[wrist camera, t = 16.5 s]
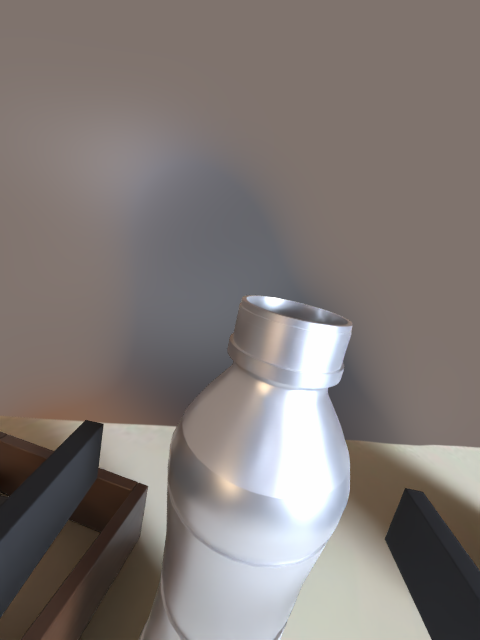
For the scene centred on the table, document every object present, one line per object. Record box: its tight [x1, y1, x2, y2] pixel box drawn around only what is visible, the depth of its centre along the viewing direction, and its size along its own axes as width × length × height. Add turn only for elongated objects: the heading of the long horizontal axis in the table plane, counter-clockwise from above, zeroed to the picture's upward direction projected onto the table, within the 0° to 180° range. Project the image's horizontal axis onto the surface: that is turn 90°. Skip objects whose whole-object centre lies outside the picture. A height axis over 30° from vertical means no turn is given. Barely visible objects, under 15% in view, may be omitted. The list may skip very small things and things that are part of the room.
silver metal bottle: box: [139, 295, 353, 640], centre depth 11 cm, size 6×7×20 cm
